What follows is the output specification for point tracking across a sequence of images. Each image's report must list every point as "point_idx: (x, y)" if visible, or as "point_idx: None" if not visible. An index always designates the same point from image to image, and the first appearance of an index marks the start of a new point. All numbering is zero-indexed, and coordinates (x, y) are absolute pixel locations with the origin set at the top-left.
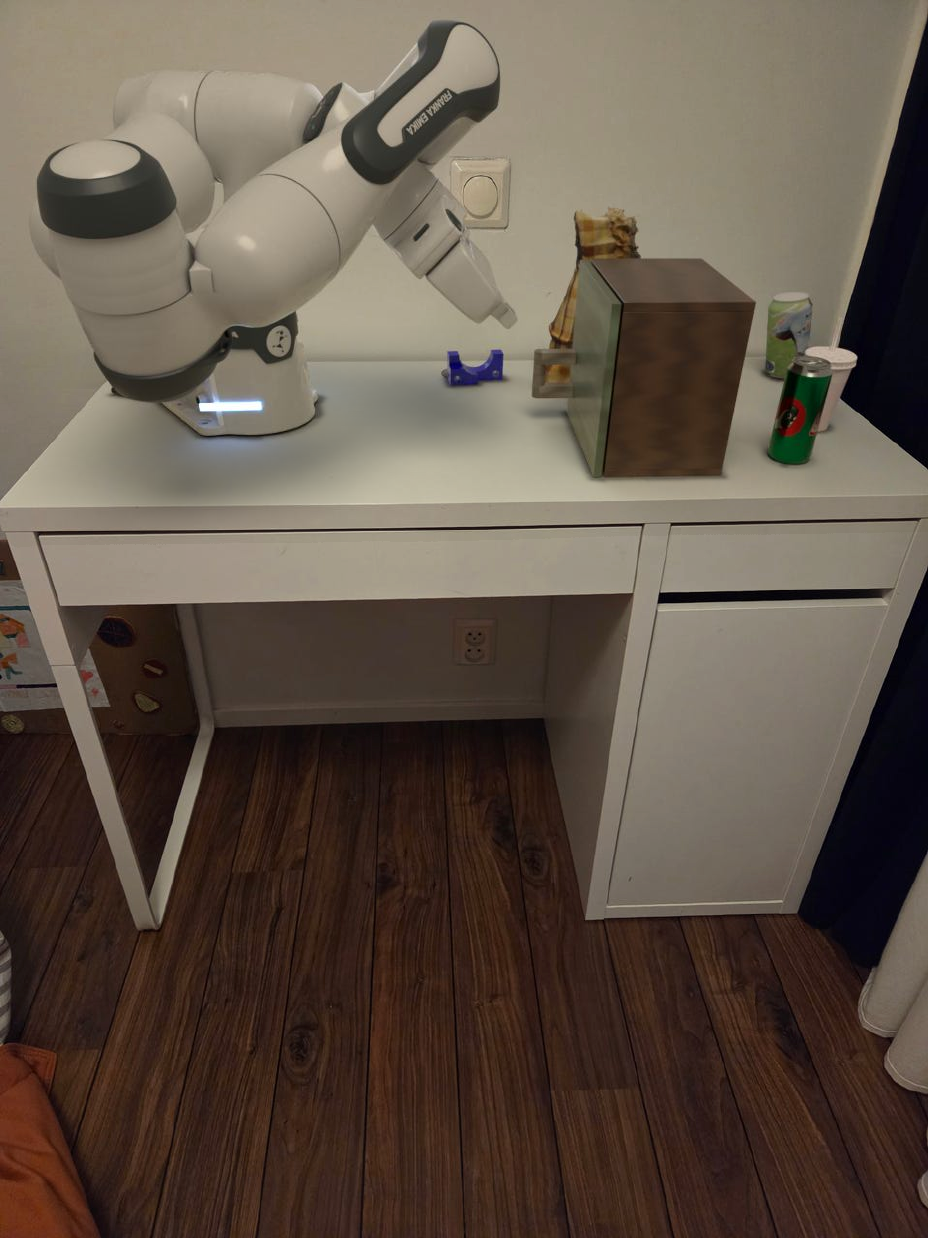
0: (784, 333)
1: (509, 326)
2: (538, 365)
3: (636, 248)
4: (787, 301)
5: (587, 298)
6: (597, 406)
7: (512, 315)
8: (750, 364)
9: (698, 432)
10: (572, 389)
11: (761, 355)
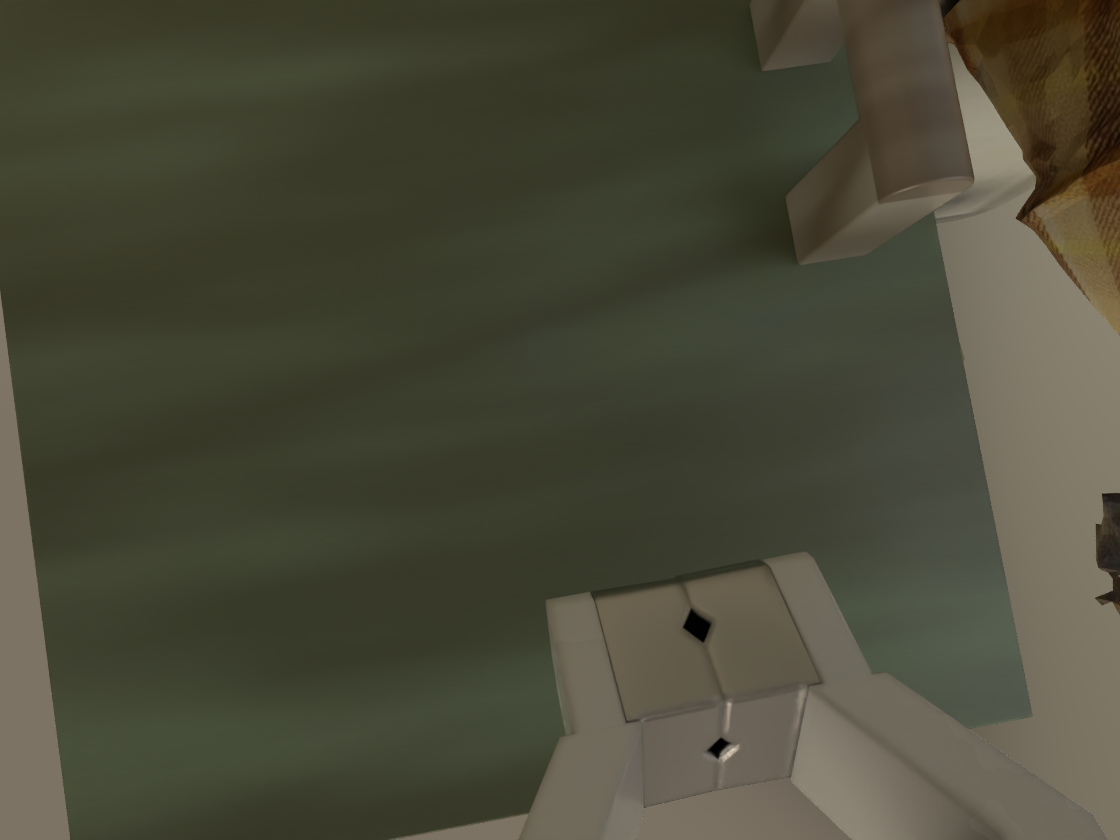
0: None
1: (548, 622)
2: (872, 100)
3: (1105, 594)
4: None
5: None
6: (89, 308)
7: (565, 731)
8: (975, 183)
9: None
10: (759, 51)
11: (1014, 190)
